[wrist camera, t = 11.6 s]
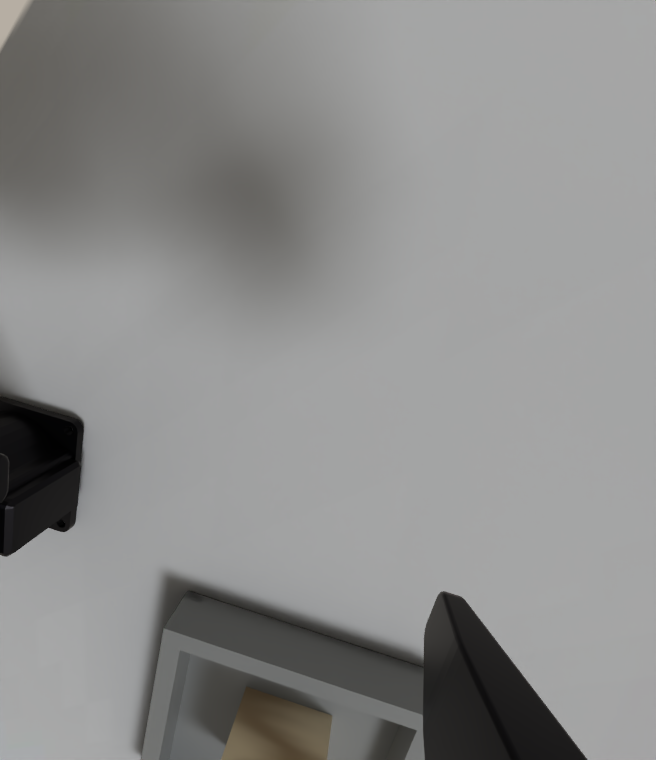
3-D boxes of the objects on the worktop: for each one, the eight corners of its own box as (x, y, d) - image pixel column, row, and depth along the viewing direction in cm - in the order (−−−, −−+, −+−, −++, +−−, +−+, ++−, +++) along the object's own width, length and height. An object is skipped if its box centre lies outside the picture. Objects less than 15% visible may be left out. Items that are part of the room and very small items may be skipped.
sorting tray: (155, 765, 26) (131, 814, 24) (187, 590, 22) (163, 628, 20) (366, 841, 25) (364, 901, 23) (438, 672, 21) (444, 722, 19)
